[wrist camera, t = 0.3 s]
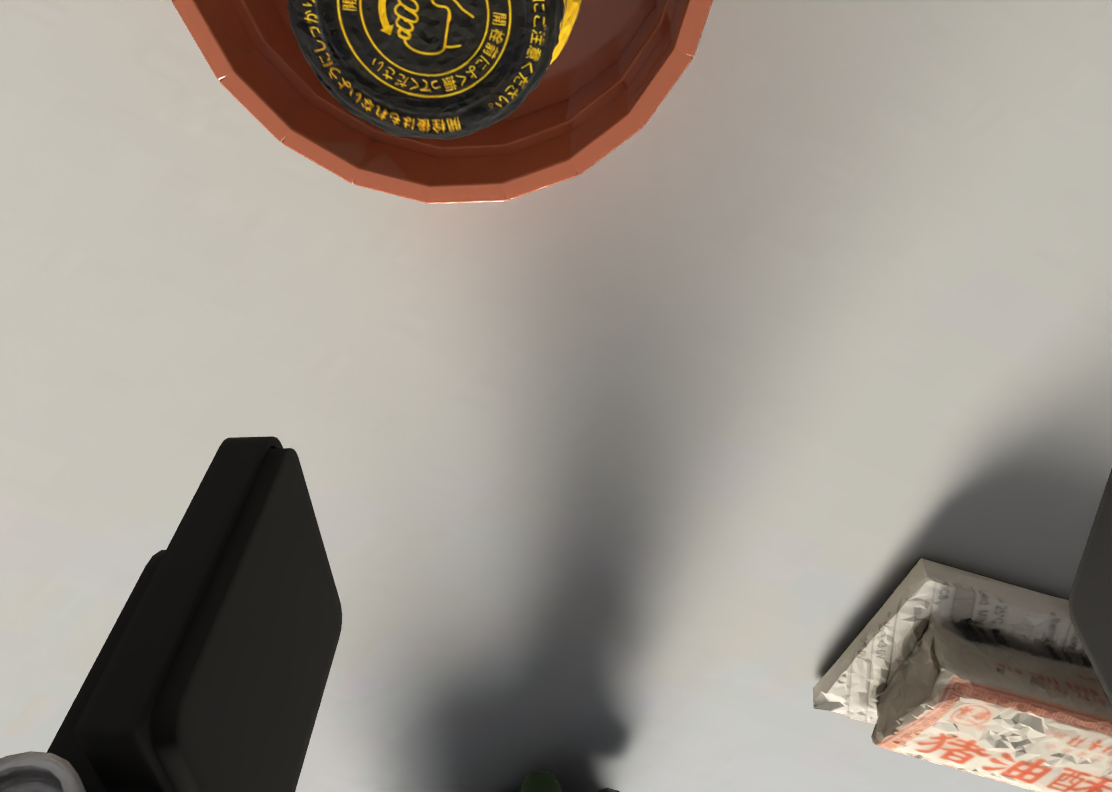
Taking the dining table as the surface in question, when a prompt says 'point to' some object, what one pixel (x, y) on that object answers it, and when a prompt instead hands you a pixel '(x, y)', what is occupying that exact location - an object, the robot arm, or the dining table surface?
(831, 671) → the packaged product
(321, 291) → the dining table surface
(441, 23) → the condiment
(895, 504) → the dining table surface
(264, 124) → the dish
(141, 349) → the dining table surface
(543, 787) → the toy figurine
